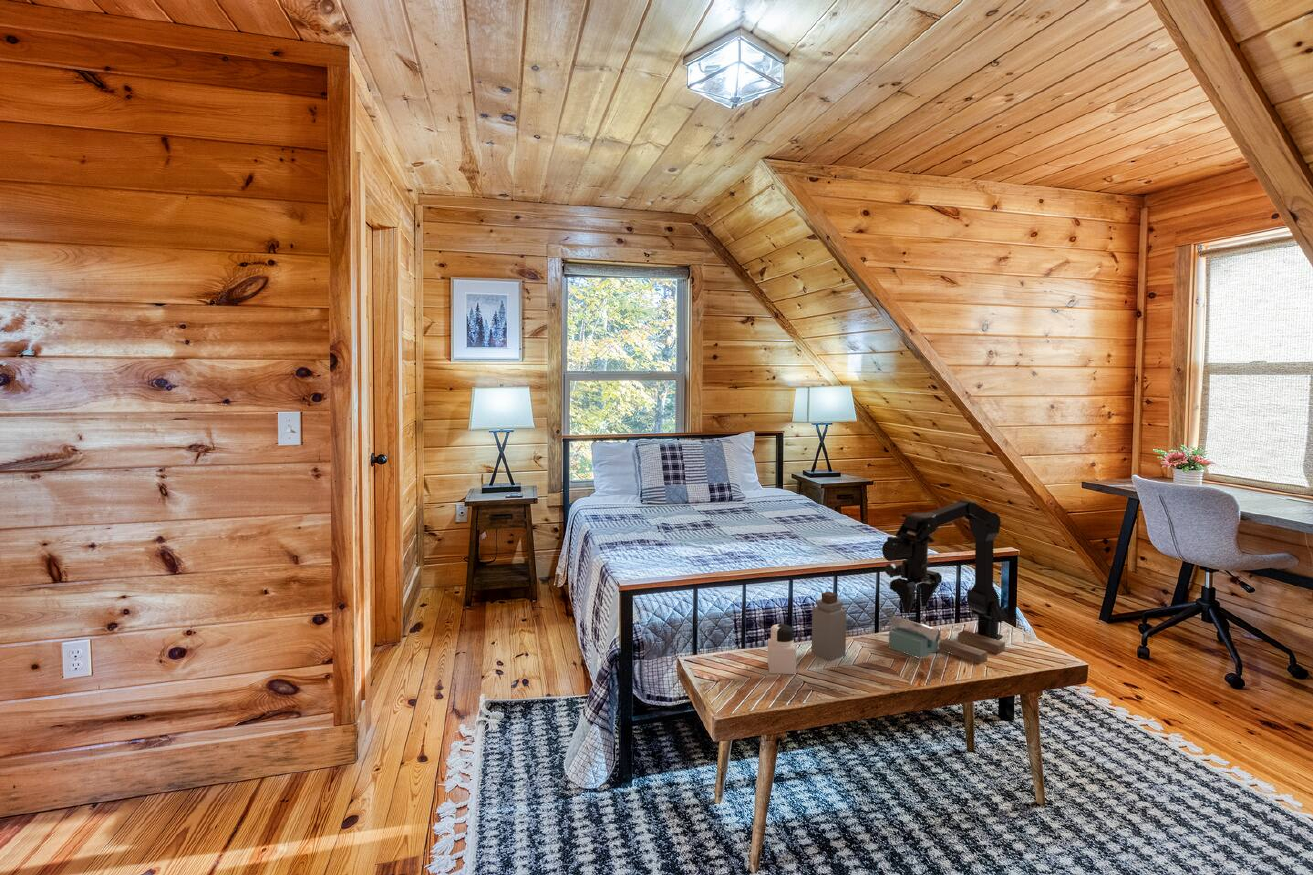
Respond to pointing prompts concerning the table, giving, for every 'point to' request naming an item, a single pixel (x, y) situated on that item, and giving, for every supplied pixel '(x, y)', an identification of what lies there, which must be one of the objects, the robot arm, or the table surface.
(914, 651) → the v-block
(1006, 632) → the table surface
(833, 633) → the perfume bottle
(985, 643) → the walnut beams
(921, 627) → the steel shaft
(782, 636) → the medicine bottle
